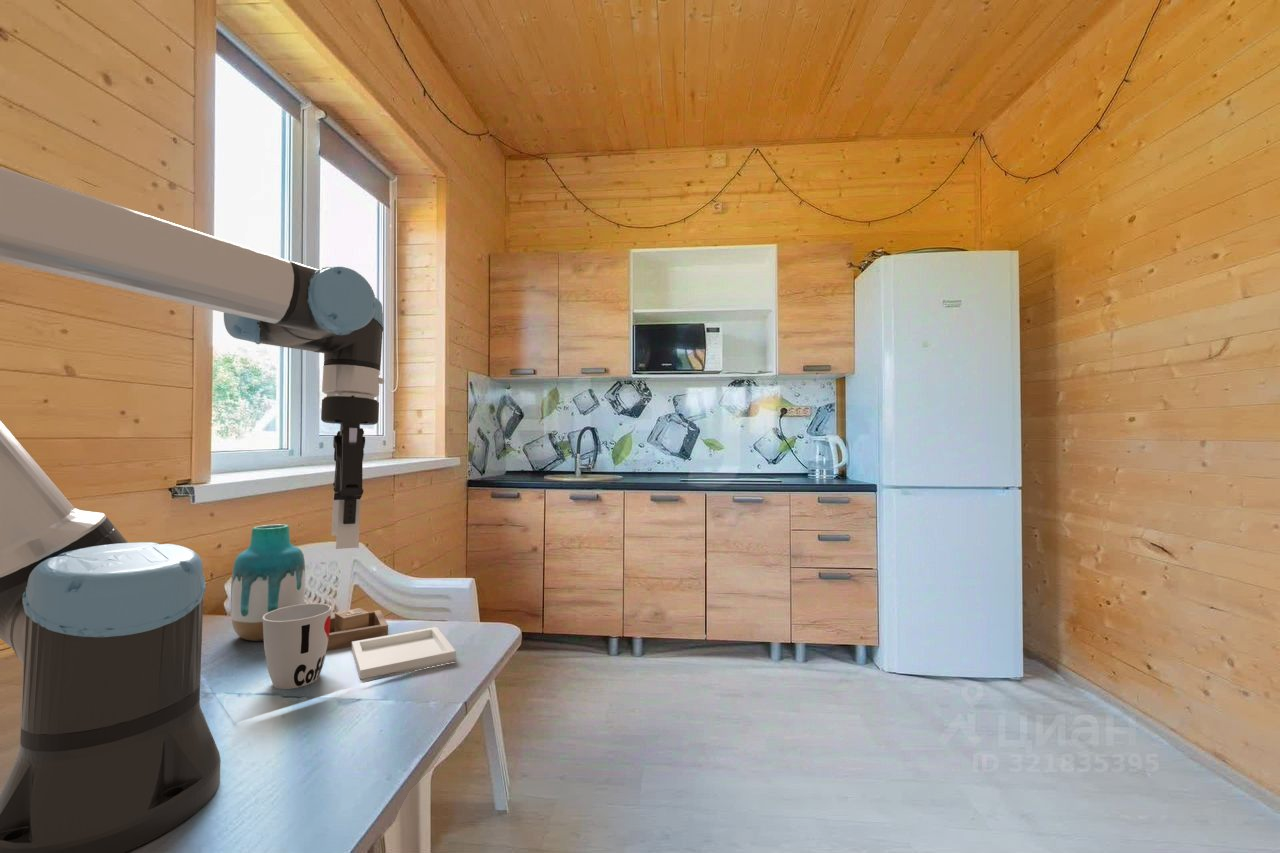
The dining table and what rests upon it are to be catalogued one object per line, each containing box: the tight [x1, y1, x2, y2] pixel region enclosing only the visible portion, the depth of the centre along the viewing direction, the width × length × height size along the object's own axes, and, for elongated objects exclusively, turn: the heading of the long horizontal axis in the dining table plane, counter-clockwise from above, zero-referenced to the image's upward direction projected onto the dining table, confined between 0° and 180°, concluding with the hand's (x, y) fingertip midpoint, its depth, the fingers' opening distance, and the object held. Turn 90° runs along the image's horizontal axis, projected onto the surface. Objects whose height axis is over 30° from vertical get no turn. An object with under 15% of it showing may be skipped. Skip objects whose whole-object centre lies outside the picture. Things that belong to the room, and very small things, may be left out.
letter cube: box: [334, 607, 369, 632], centre depth 91 cm, size 4×4×4 cm
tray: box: [351, 626, 457, 684], centre depth 84 cm, size 13×13×2 cm
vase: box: [230, 523, 306, 642], centre depth 93 cm, size 11×11×19 cm
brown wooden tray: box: [326, 609, 389, 652], centre depth 91 cm, size 10×10×3 cm
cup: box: [263, 603, 332, 690], centre depth 75 cm, size 8×8×10 cm
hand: (344, 541), depth 79 cm, fingers open, 13 cm apart
